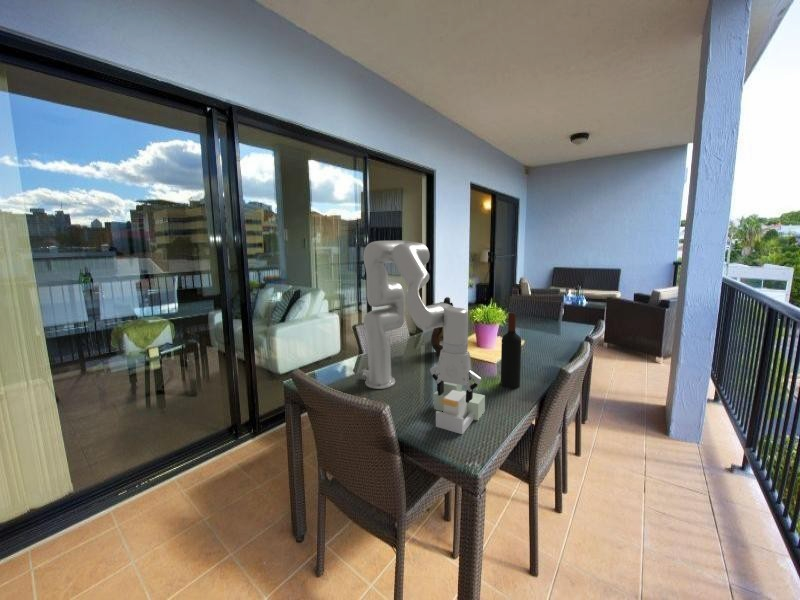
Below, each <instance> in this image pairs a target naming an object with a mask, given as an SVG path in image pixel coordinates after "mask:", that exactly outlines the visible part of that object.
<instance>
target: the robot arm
mask: <svg viewBox="0 0 800 600" xmlns="http://www.w3.org/2000/svg"><path fill="white" fill-rule="evenodd" d="M430 255H431V254H430V251H429V248H428V247H427V246H426V245H425V244H424V243H421V242H417V241H410V240H409V241H408V240H399V239H397V240H375V241H371V242H370V243H368V244H367V245H366V246H365V248H364V249H363V263H364V267H365V273H366V297H367V298H366V299H367V303H368V305H369V306H370V307H372V308H373V307H374V308H378V307H379V308H378V309H372V310H370V311H369V312H367V313H365V315H364V316H363V326H364V329H365V334H366V345H367V346H366V347H367V364H368V365H367V366H368V367H367V368H368V369H364V370H363V372H362V377H366V380H365V386H366V387H367V388H370V389H375V390H383V389H388V388H390V387H393V386H394V385H395V383H396V379H395V377H393V376H392V361H391V359H392V357H391V341H390V339H389V337H388V336H387V335H386V334H387V333H386V332H389V331H393V330H397V329H400V328H401V327H402V326H403V325H404V323H405V305H406V309H407V312H408V313H409V315H410V317H411V319H412V321H413V322H414V324H415V325H416V327H417V328H419V329H420V330H423V331H429V330H434V328H438V327H444V336H443V341H440V345H442V346H443V349H442V350H441V352H440V356H438V362H437V363H438V365H435V366H433V367H430V368H429V371H430V374H431V377H432V378H433V380H434V381H435V384H436V391H438V395H439V396H440V395H441V394H442V393H443V392H444V382H449V383H453V384H457V385H462V387H463V386H464V387H465V388H466V390H465V391H466V403H469V401H470V400H472V398H473V393H474V390H475V389H476V388H477V387H479V385H480V383H481V382H482V377H480V376H479V375H478V374H476V373H475V372H474V371H473V370H472V360H471V354H470V351H469V350H468V344H469V343H468V340H469V339H468V338H469V337H468V336H469V312H468V311H467V309H466V308H462V307H455V306H454V305H453V306H451V305H449V304H445V303H444V302H443V303H438V304H431V305H425V304H424V302H423V301H422V298H421V296H420V290H421V288H423V287H424V286H425V285H426V284H427V283H428V282H429V280H430V273H429V272H428V271H427V269H426V267H425V265H426V264H427V263H429V260H430V258H431V257H430ZM389 263H390V264H391V263H394V265H395V267H396V268H397V270H398V272H399V274H400V276H401V277H402V278H403V281H404V283H405V284H406V286H407V288H406V292H405V291H404V288H403V286H402V285H401V283H399V282H396V281H389V280H388V279H389V277H388V276H389V273H388V270H387V268H386V266H385V265H384V264H389ZM385 306H387V307H385ZM380 307H385V308H380ZM472 379H473V380H474V383H473V382H472V381H471V380H472Z"/></svg>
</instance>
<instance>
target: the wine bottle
mask: <svg viewBox="0 0 800 600" xmlns="http://www.w3.org/2000/svg"><path fill="white" fill-rule="evenodd" d="M516 318H517V313H516V312H514V311H513V312H508V315H507V320H508V321H507V327H508V329H507V333H504V334H503V336H502V337H501V349H500V350H501V351H500V352H501V356H500V358H501V359H500V386H502V387H503V388H505V389H511V390H512V389H514V390H515V389H518V388H520V387H521V367H522V366H521V365H522V338H521V337H520V335H519V334H518V333H517V332H516V322H517V319H516Z"/></svg>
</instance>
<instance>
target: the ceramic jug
mask: <svg viewBox="0 0 800 600" xmlns="http://www.w3.org/2000/svg"><path fill="white" fill-rule="evenodd" d="M443 303H445V304H449V305H451V306H453V307H454V304H453V302H451V298H450V297H449V296H446V297H445V298H444V299H443ZM443 336H444V327H438V328H434V329H432V332H431V338H430V343H431V347H432V349H433V350H434V352H435V354H436V356H437V357H439V356H440V352H441V350H442V349H443V346H442V345H440V341H443Z"/></svg>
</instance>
